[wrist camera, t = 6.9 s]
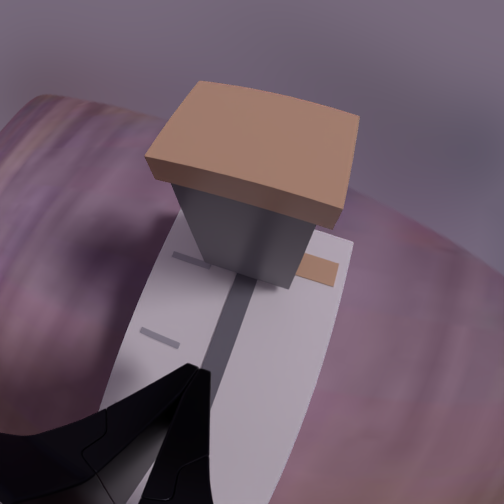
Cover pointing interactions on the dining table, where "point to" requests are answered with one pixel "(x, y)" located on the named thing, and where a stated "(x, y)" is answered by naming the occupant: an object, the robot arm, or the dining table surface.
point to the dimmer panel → (236, 353)
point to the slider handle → (255, 175)
